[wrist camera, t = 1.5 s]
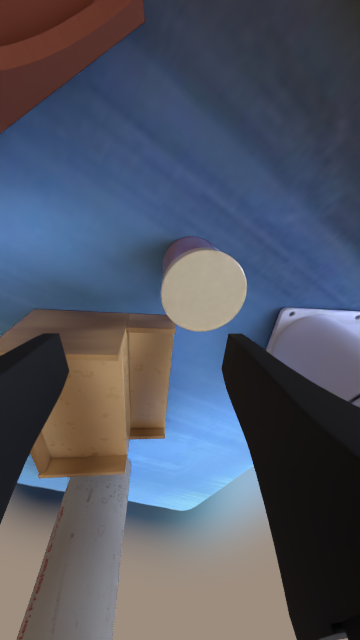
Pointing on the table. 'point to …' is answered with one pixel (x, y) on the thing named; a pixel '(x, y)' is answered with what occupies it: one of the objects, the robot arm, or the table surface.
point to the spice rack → (101, 387)
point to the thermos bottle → (81, 563)
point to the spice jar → (201, 285)
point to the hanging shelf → (54, 45)
